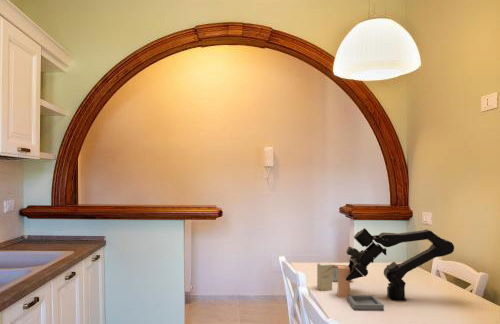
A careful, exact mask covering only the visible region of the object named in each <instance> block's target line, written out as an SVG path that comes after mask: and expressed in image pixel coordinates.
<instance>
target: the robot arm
mask: <svg viewBox="0 0 500 324" xmlns="http://www.w3.org/2000/svg"><path fill="white" fill-rule="evenodd" d="M353 239H354V240H355V241H356V242H357V243H358V244H359V245H361V246H362V247H366V248H365V249H363V250H362V249H361V250H360V251H359V250H358V249H356V248H355V247H352V246H348V248H347V249H346V255H349V258H348V261H349V262H348V263H349V264H348V265H347V266H349V268H350V274H349V275H348V276H347V278H346V280H347V281H349V280H351V281H353V280H355V279H358V278H363V277H366V276H367V275H368V274H369V270H368V266H369V265H370V264H371V263H372V264H373V263H374V262H375V261H374V260H375V259H377V258H378V257H379V256H380V255H381V254H383V255H384V256H387V248H390V247H394V246H397V245H399V244H400V243H401V244H402V243H409V242H417V241H425V240H427V241H429V242H430V243H432V244H430V246H429V247H428V248H427V249H425V250H423V251H422V252H419V253H418V254H416V255H414V256H412V257H410V258H408V259H407V260H404V261H403V262H400V263H396V262H395V261H393V262H392V263H389V264H388V265H386V266H385V268H384V269H383V275H384V277H385V278H386V279H387V281H388V282H389V283H387V287H386V297H388V298H389V300H391V301H404V302H405V301H407V299H406V295H405V294H406V290H405V289H406V282H405V281H404V279H403V278H404V277H405V275H406V274H407V273H409V272H411V271H413V270H414V269H416V268H418V267H421V266H422V265H424V264H426V263H427V262H429V261H432V260H433V259H435V258H440V257H444V256H449V255H451V254H452V253H454V251H455V246H454V244H453V242H451V241H449V240H448V239H445V238H442V237H440V236H439V235H437V234H435V233H434V231H432V230H429V229H424V230H417V231H408V232H401V233H399V232H398V233H395V232H380V233H379V234H375V235H372V234H371V233H370V232H369V231H368V230H367V229H366V227H365V228H362V229H361V230H360V231H357V232H356V233H355V235H354V236H353ZM382 246H383V247H382Z"/></svg>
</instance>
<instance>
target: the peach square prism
mask: <svg viewBox="0 0 500 324" xmlns="http://www.w3.org/2000/svg"><path fill="white" fill-rule="evenodd" d="M337 271H338V282H337V296H338V298H346V299H347V295H351V281H350V280H349V281H347V280H346V278H347V276H348V275H349V274H350V268H349V266H348V265H347V266H337Z"/></svg>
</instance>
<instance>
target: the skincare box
mask: <svg viewBox="0 0 500 324" xmlns="http://www.w3.org/2000/svg"><path fill="white" fill-rule="evenodd" d="M332 265H333V264H332V263H330V262H321V263H320V262H319V263H317V265H316V266H317V267H316V273H317V274H316V277H317V279H316V284H317V285H316V286H317V289H318V290H319V291H332V290H333V282H332Z"/></svg>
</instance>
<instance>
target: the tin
mask: <svg viewBox="0 0 500 324" xmlns="http://www.w3.org/2000/svg"><path fill="white" fill-rule="evenodd" d="M337 266H348V265H347V264H345V265H344V264H343V265H342V264H332V283H334V282H336V283H338V271H337ZM351 281H352V280H350V282H351Z"/></svg>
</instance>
